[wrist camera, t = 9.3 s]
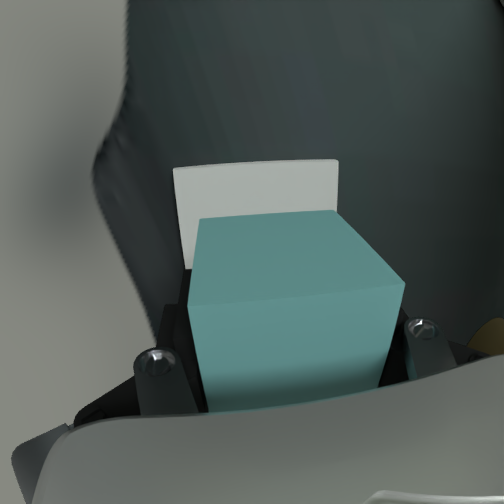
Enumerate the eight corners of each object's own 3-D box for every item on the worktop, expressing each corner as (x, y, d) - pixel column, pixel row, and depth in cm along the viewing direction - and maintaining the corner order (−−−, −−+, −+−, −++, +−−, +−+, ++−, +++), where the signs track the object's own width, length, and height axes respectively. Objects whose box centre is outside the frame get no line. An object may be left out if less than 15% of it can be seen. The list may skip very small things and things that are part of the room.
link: (180, 220, 12) (155, 307, 7) (350, 208, 12) (427, 280, 7) (217, 429, 17) (221, 509, 12) (322, 417, 18) (346, 492, 13)
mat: (174, 168, 17) (172, 170, 17) (334, 159, 18) (338, 161, 17) (204, 368, 24) (204, 373, 23) (320, 356, 24) (322, 362, 24)
